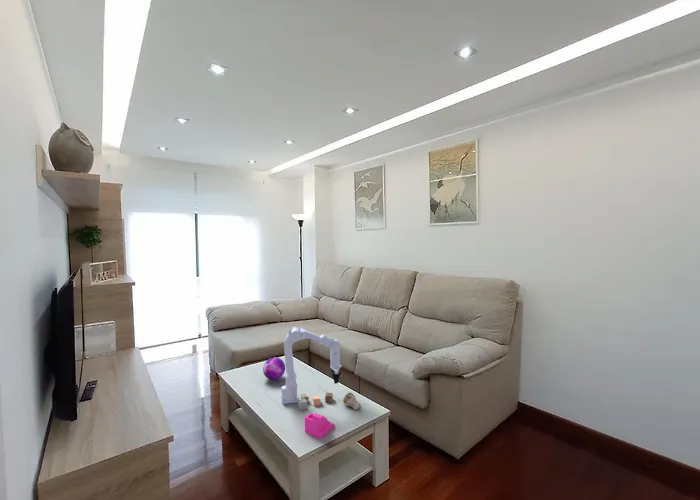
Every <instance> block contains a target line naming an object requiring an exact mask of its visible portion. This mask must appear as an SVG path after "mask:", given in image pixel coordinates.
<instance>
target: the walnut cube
mask: <svg viewBox="0 0 700 500" xmlns="http://www.w3.org/2000/svg"><path fill="white" fill-rule="evenodd" d="M333 399H334V393H333V392H325V395H324V400H325V401H324V403H333Z"/></svg>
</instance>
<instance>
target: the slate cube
mask: <svg viewBox="0 0 700 500" xmlns="http://www.w3.org/2000/svg"><path fill="white" fill-rule="evenodd" d="M297 407H298V409H299V410H300V411H302V410H305V409H307V408H308V403H307V401H306V400H305V398H304V399H301V398H300V399H298V402H297Z"/></svg>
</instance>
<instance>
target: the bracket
mask: <svg viewBox="0 0 700 500" xmlns="http://www.w3.org/2000/svg"><path fill="white" fill-rule="evenodd" d="M335 426H336V425H335V423H333V422H331V421H329V419H328V418H327V417H325V416H324V415H322V414H321V413H320V414H319V413H317V412H315V413H313V412H310V413H308V414H307V415H306V416H304V432H305V433H307V434H308V435H309V434H310V435H311V436H314V437H317V438H319V439H322V438H323V437H325V435H327V434H328V433H329V432H330V431H331V430H332V429H333V428H335Z"/></svg>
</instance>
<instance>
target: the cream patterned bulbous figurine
mask: <svg viewBox="0 0 700 500" xmlns="http://www.w3.org/2000/svg"><path fill="white" fill-rule="evenodd" d="M343 403H344V404H345V405H347V406H348V407H351V408H352V409H353V410H358V409H359V408H362V405H361V404H360V403H359V402H358V400H357V399H356V395H355V394H354V393H353V392H348V393H346V394H345V395H344V397H343Z"/></svg>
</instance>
